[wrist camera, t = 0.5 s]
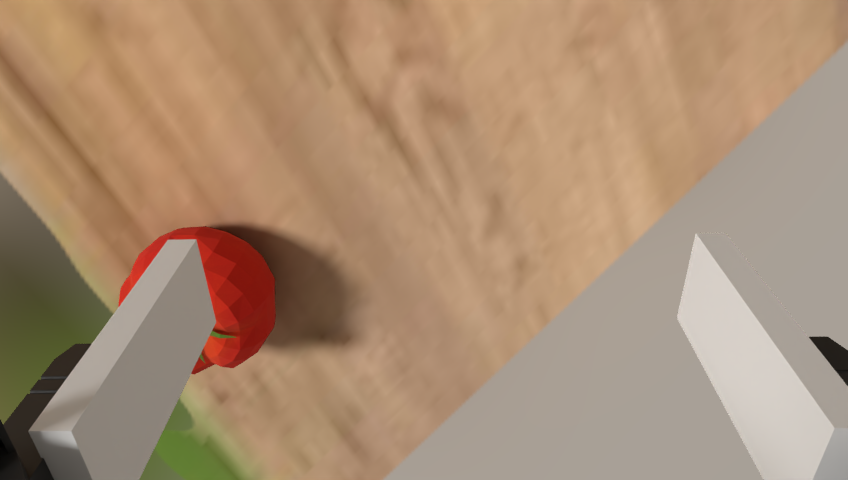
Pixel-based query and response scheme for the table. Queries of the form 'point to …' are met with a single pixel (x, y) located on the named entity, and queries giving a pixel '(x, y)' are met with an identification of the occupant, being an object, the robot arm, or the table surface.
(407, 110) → the table surface
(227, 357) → the tomato
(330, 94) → the table surface
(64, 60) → the table surface
